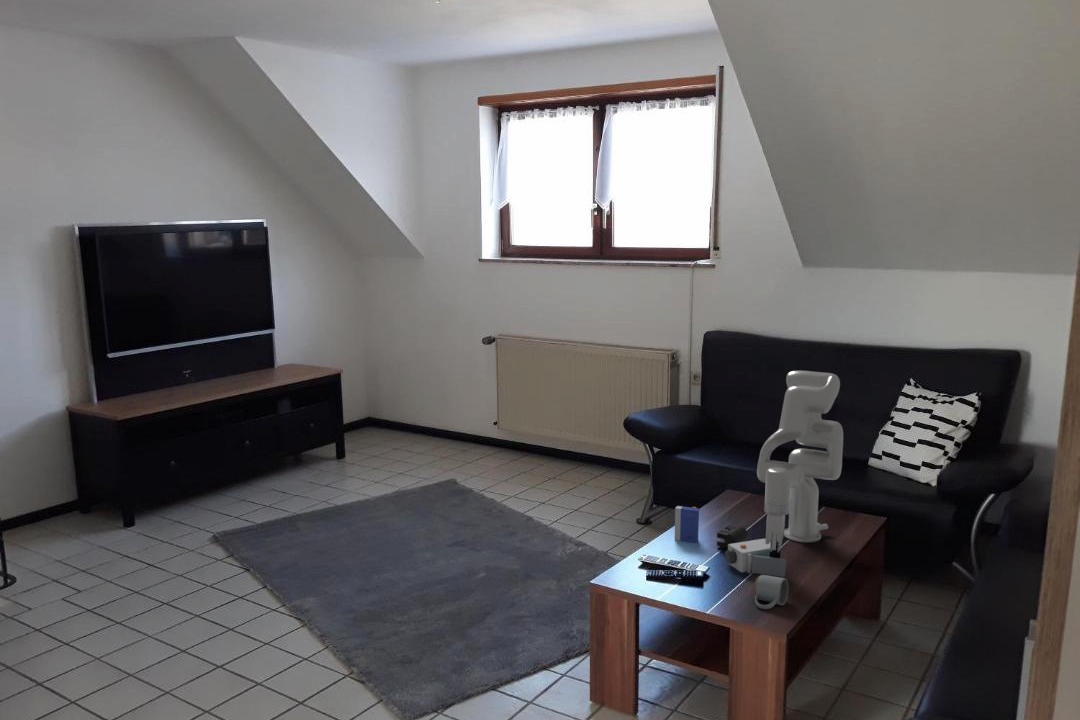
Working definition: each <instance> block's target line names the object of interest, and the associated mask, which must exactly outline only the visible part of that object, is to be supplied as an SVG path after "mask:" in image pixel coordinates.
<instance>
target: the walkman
mask: <svg viewBox="0 0 1080 720" xmlns="http://www.w3.org/2000/svg"><path fill="white" fill-rule="evenodd" d="M699 518H700V508H699V507H698V508H697V507H696V506H692V507H689V506H683V505H681V506H680V505H676V507H675V509H674V541H678V542H684V543H685V542H686V543H694V544H697V543H698V542H699V530H700V529H699V525H700V524H699V521H700V519H699Z"/></svg>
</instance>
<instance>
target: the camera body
mask: <svg viewBox="0 0 1080 720" xmlns="http://www.w3.org/2000/svg"><path fill="white" fill-rule="evenodd" d="M765 539H766V538H758V539H753V540H748V541H747V540H746V541H745V542H739V543H733V544H728V550H727V551H726V552H724V556H725V561H726V563H727V564H728V565H729V566H731V567H733V568H734V569H735V570H736V571H738V572H740V573H747V567H748V554H752V561H753V555H755V556H764V557H769V555H770V543H769V544H765ZM751 572H752V564H751Z"/></svg>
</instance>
